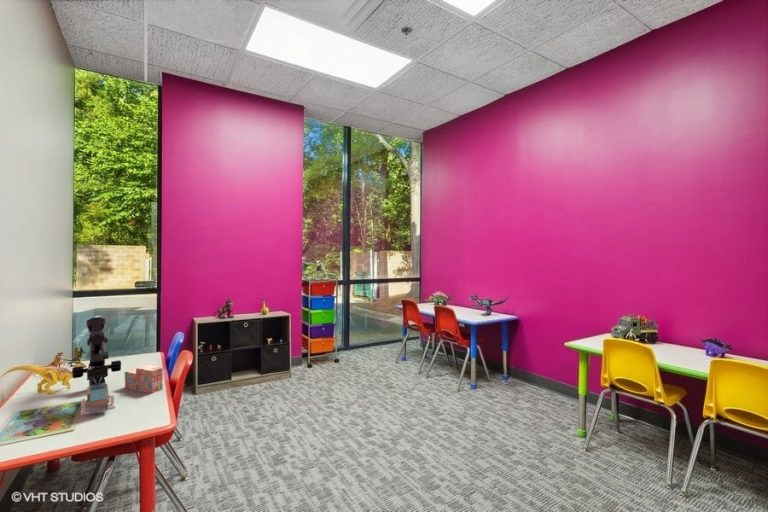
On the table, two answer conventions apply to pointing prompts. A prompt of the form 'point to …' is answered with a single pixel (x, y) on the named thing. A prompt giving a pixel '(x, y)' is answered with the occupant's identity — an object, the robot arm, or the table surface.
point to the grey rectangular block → (98, 392)
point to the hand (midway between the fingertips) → (97, 384)
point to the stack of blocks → (145, 378)
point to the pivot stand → (86, 411)
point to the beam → (97, 403)
